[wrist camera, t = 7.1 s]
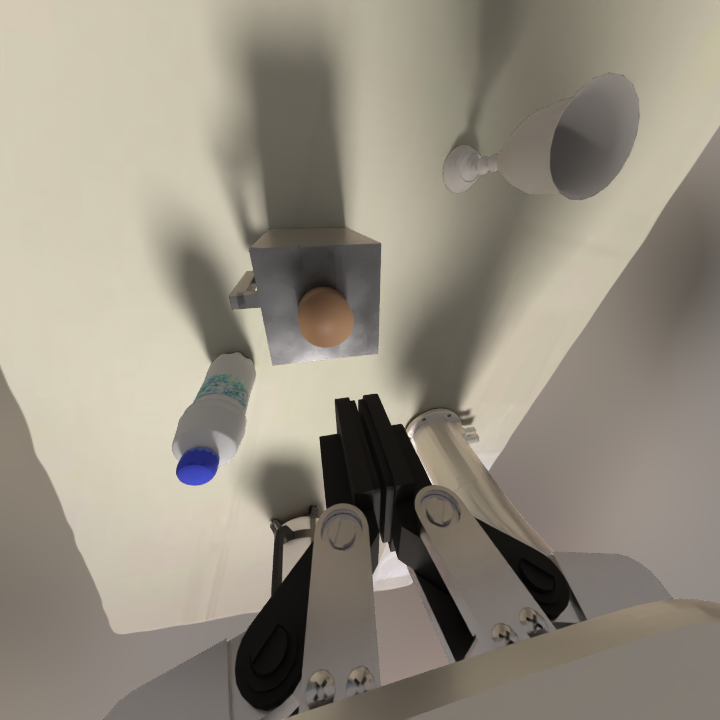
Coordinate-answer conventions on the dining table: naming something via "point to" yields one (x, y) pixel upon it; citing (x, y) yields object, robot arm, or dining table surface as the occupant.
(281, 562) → the coffee press
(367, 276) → the grey peg holder block
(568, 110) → the chalice
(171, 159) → the dining table surface
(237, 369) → the bottle
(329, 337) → the plunger
